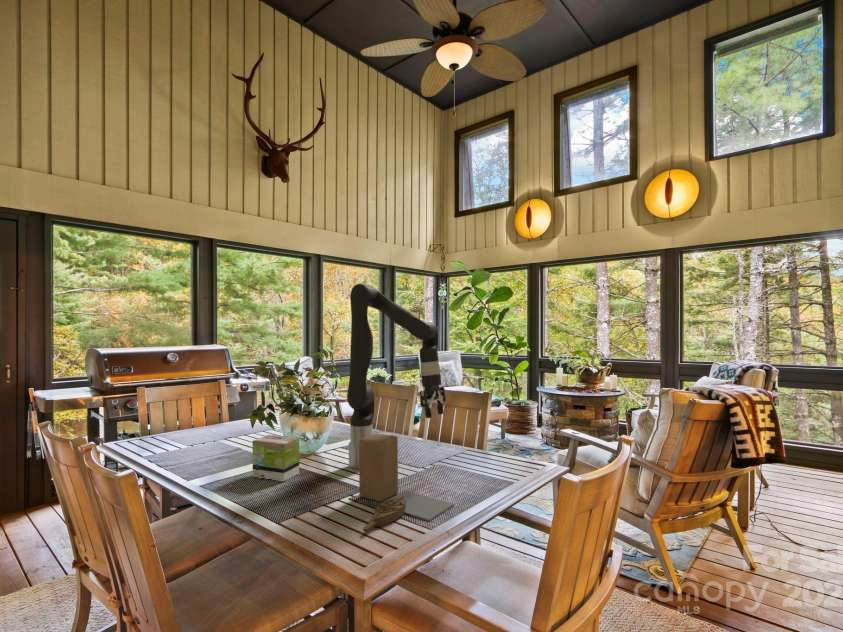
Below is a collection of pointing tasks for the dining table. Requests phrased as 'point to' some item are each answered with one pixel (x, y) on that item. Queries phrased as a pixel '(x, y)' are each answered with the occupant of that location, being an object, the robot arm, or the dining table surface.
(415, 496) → the mat
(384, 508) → the leaf carving
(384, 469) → the block
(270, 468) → the tea box
